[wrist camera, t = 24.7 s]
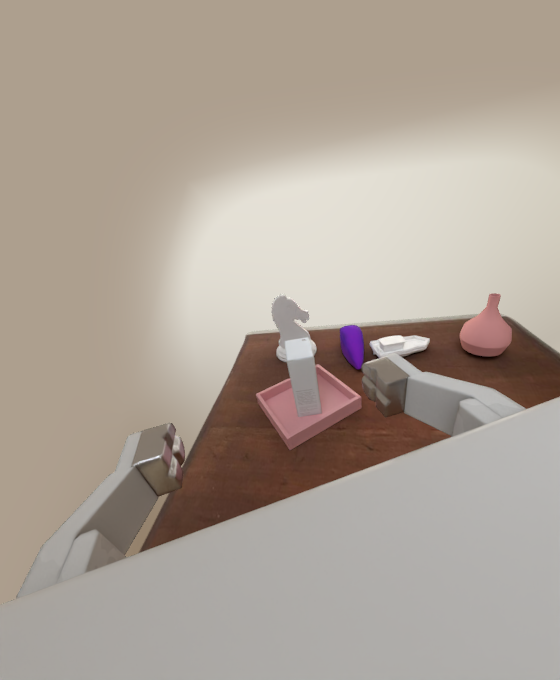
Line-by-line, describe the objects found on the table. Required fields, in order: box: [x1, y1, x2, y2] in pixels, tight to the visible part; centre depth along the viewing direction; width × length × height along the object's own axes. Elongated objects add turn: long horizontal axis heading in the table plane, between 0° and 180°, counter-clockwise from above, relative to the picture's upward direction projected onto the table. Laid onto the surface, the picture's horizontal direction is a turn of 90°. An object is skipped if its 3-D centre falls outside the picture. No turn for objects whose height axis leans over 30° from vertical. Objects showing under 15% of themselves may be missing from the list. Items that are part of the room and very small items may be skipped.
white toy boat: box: [370, 335, 430, 358], centre depth 53 cm, size 6×12×3 cm, turn 93°
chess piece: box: [272, 294, 317, 362], centre depth 58 cm, size 10×10×15 cm
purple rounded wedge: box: [340, 325, 364, 369], centre depth 55 cm, size 5×5×15 cm
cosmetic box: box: [285, 337, 322, 417], centre depth 42 cm, size 6×4×12 cm
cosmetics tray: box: [256, 364, 361, 450], centre depth 44 cm, size 14×12×3 cm
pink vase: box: [460, 294, 512, 357], centre depth 46 cm, size 8×8×12 cm
